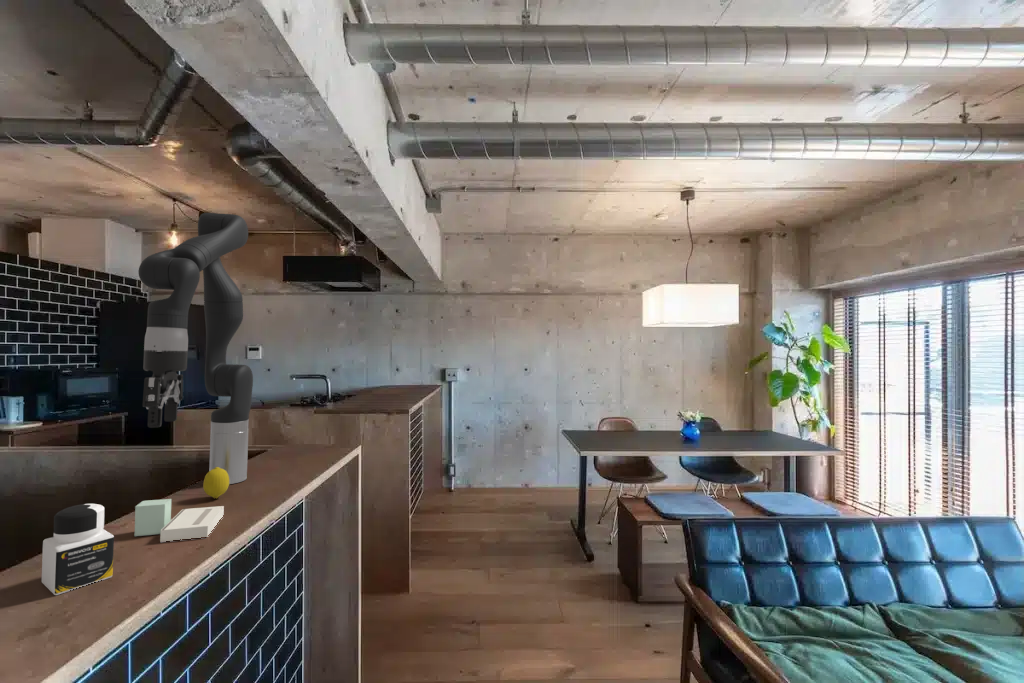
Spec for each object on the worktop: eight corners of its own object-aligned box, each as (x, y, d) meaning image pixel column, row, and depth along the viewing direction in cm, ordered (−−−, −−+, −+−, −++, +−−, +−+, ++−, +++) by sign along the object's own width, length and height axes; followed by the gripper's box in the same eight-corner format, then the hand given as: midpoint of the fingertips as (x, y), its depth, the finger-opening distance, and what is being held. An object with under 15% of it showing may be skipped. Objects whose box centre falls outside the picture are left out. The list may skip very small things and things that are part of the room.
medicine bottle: (54, 596, 70) (57, 518, 70) (40, 583, 74) (43, 509, 74) (113, 577, 76) (115, 505, 76) (97, 565, 80) (100, 497, 80)
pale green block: (141, 529, 95) (142, 500, 95) (170, 527, 97) (171, 498, 97) (133, 536, 92) (135, 506, 92) (163, 533, 93) (164, 504, 93)
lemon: (233, 495, 118) (234, 464, 118) (217, 502, 112) (219, 470, 112) (214, 494, 118) (215, 463, 118) (197, 501, 113) (198, 469, 113)
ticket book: (182, 520, 101) (182, 508, 101) (223, 516, 104) (223, 505, 104) (160, 542, 90) (160, 529, 90) (207, 537, 92) (207, 525, 92)
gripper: (159, 348, 104) (155, 420, 103) (129, 348, 90) (125, 430, 90) (197, 349, 106) (194, 419, 106) (174, 349, 93) (170, 429, 92)
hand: (162, 424), depth 98 cm, fingers open, 8 cm apart
